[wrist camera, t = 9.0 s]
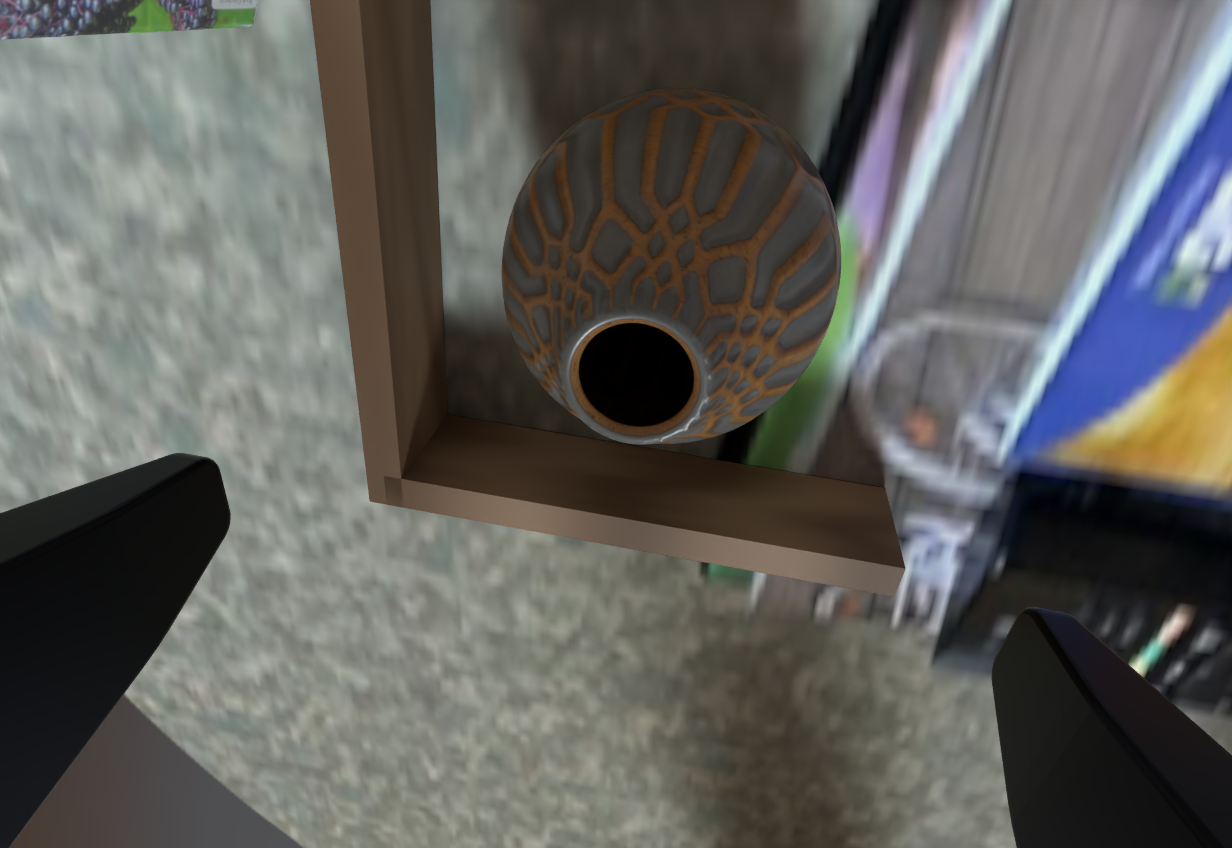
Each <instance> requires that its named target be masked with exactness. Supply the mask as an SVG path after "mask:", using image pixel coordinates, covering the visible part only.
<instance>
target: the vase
mask: <svg viewBox="0 0 1232 848" xmlns="http://www.w3.org/2000/svg"><path fill="white" fill-rule="evenodd" d="M840 274H841V245H840V237H839V231H838V225H837V220H836V216H835V212H834V208H833V205H832V202H831V199H830V196H829V194H828V192H827V189H826V187H825V185H824V183H823V181H822V178H821V177H820V175H819V173H818V171H817V169H816V167H815V166H814V164H813V163H812V161H811V160H810V158H809V157H808V155H807V154H806V152H805V151H804V150H803V149H802V147H801V146H800V145H799V144H798V143H797V142H796V141H795V139H794V138H793V137H792V136H791V135H790V134H789V133H788V132H787V131H786V130H784V129H783V128H782V127H781V126H780V125H779V124H778V123H777V122H775V121H774V120H773V119H771V118H770V117H769V116H767V115H766V114H764V113H763V112H761V111H759V110H758V109H756V108H754V107H752V106H751V105H749V104H747V103H745V102H742V101H740V100H738V99H735V98H733V97H730V96H727V95H723V94H720V93H716V92H712V91H707V90H701V89H693V88H665V89H657V90H650V91H645V92H641V93H636V94H632V95H629V96H626V97H623V98H620V99H618V100H615V101H613V102H611V103H608V104H606V105H604V106H602V107H601V108H599V109H597V110H595V111H593V112H591V113H590V114H588V115H587V116H585V117H583V118H582V119H580V120H579V121H578V122H576V123H575V124H574V125H572V126H571V127H570V128H568V129H567V130H566V131H565V132H564V133H563V134H562V135H561V136H560V137H559V138H558V139H557V140H556V141H555V142H554V143H553V144H552V145H551V146H550V147H549V148H548V149H547V150H546V151H545V152H544V154H543V155H542V156H541V157H540V159H539V160H538V161H537V163H536V164H535V166H534V167H533V169H532V170H531V172H530V173H529V175H528V177H527V179H526V180H525V182H524V184H523V186H522V188H521V190H520V192H519V194H518V197H517V199H516V201H515V204H514V206H513V209H512V212H511V215H510V219H509V223H508V227H507V231H506V235H505V241H504V247H503V258H502V289H503V298H504V305H505V311H506V315H507V319H508V323H509V326H510V329H511V332H512V335H513V338H514V340H515V343H516V345H517V348H518V350H519V352H520V354H521V356H522V358H523V360H524V361H525V363H526V365H527V366H528V368H529V369H530V371H531V372H532V374H533V375H534V377H535V378H536V379H537V380H538V382H539V383H540V384H541V385H542V387H543V388H544V389H545V390H546V391H547V392H548V393H549V394H550V395H551V396H552V397H553V398H554V399H555V400H556V401H557V402H558V403H559V404H560V405H561V406H563V407H564V408H565V409H566V410H568V411H569V412H570V413H572V414H573V415H574V416H576V417H577V418H579V419H581V420H582V421H583V422H584V423H585V424H586V425H587V426H589V427H590V428H591V429H593V430H594V431H596V432H598V433H599V434H601V435H603V436H605V437H607V438H610V439H613V440H616V441H619V442H623V443H628V444H639V445H645V444H677V443H687V442H693V441H699V440H703V439H707V438H711V437H714V436H718V435H721V434H724V433H726V432H729V431H731V430H734V429H736V428H738V427H740V426H742V425H744V424H746V423H747V422H749V421H751V420H753V419H754V418H755V417H757V416H758V415H760V414H761V413H763V412H764V411H766V410H767V409H768V408H770V407H771V406H772V405H773V404H775V403H776V402H777V401H778V400H779V399H780V398H781V397H782V396H783V395H784V394H785V393H786V392H787V391H788V390H789V389H790V388H791V387H792V386H793V385H794V384H795V382H796V381H797V380H798V379H799V377H800V376H801V375H802V374H803V372H804V371H805V369H806V368H807V366H808V365H809V364H810V362H811V360H812V359H813V357H814V355H815V354H816V352H817V350H818V348H819V347H820V345H821V343H822V340H823V338H824V336H825V334H826V331H827V329H828V327H829V324H830V321H831V318H832V315H833V312H834V309H835V305H836V300H837V295H838V290H839V284H840Z"/></svg>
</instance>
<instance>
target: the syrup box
mask: <svg viewBox="0 0 1232 848" xmlns="http://www.w3.org/2000/svg"><path fill="white" fill-rule="evenodd" d="M257 4H258V0H0V39H18V38H39V37H61V36H74V35H93V34H112V33H143V32H158V31H180V30H200V29H214V28H246V27H250V26H252V25H253V23H254V19H255V17H256V12H257Z"/></svg>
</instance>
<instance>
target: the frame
mask: <svg viewBox="0 0 1232 848" xmlns="http://www.w3.org/2000/svg"><path fill="white" fill-rule="evenodd" d="M310 5H311V13H312V22H313V30H314V38H315V47H316V55H317V63H318V72H319V80H320V89H321V97H322V105H323V114H324V122H325V130H326V139H327V147H328V156H329V164H330V172H331V181H332V189H333V197H334V206H335V214H336V223H337V231H338V239H339V248H340V256H341V264H342V273H343V281H344V290H345V298H346V306H347V315H348V323H349V331H350V340H351V348H352V356H353V365H354V373H355V382H356V390H357V398H358V407H359V415H360V423H361V432H362V440H363V449H364V457H365V465H366V474H367V482H368V490H369V499H370V501H371V502H376V503H382V504H387V505H393V506H398V507H404V508H409V509H415V510H420V511H426V512H431V513H437V514H442V515H448V516H453V517H459V518H464V519H470V520H475V521H481V522H486V523H492V524H497V525H503V526H508V527H514V528H519V529H525V530H530V531H536V532H541V533H546V534H552V535H557V536H563V537H568V538H574V539H579V540H585V541H590V542H596V543H601V544H607V545H612V546H618V547H623V548H629V549H634V550H640V551H645V552H651V553H656V554H662V555H667V556H673V557H678V558H684V559H689V560H695V561H700V562H706V563H711V564H717V565H722V566H728V567H733V568H739V569H744V570H750V571H755V572H761V573H766V574H772V575H777V576H783V577H788V578H794V579H799V580H805V581H810V582H816V583H821V584H827V585H832V586H838V587H843V588H849V589H854V590H860V591H865V592H871V593H876V594H882V595H887V596H893V597H894V595H895V593H896V591H897V588H898V586H899V583H900V581H901V578H902V576H903V574H904V571H905V565H904V561H903V557H902V553H901V549H900V545H899V541H898V537H897V533H896V529H895V525H894V521H893V517H892V513H891V509H890V506H889V502H888V498H887V494H886V490H885V488H882V487H876V486H870V485H864V484H858V483H852V482H846V481H840V480H834V479H828V478H822V477H816V476H810V475H804V474H798V473H792V472H786V471H780V470H774V469H768V468H763V467H757V466H751V465H745V464H739V463H733V462H727V461H721V460H715V459H709V458H703V457H697V456H691V455H685V454H679V453H673V452H667V451H661V450H655V449H649V448H644V447H638V446H632V445H626V444H620V443H614V442H608V441H602V440H596V439H590V438H584V437H578V436H572V435H566V434H560V433H554V432H548V431H542V430H536V429H531V428H525V427H519V426H513V425H507V424H501V423H495V422H489V421H483V420H477V419H471V418H465V417H459V416H453V415H448V409H447V385H446V362H445V339H444V315H443V292H442V268H441V245H440V222H439V198H438V175H437V151H436V128H435V105H434V81H433V58H432V34H431V11H430V0H310Z"/></svg>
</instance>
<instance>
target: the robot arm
mask: <svg viewBox="0 0 1232 848" xmlns="http://www.w3.org/2000/svg"><path fill="white" fill-rule="evenodd" d="M230 517H231V514H230V509H229V505H228V501H227V497H226V493H225V489H224V485H223V481H222V477H221V473H220V470H219V467H218V465H217V464H216V463H215V462H214V460H212V459H210V458H207V457H202V456H196V455H191V454H185V453H175V454H171V455H168V456H165V457H162V458H159V459H156V460H153V461H151V462H148V463H145V464H142V465H139V466H136V467H133V468H130V469H127V470H124V471H122V472H119V473H116V474H113V475H110V476H107V477H104V478H101V479H98V480H95V481H93V482H90V483H87V484H84V485H81V486H78V487H75V488H72V489H69V490H66V491H63V492H61V493H58V494H55V495H52V496H49V497H46V498H43V499H40V500H37V501H34V502H32V503H29V504H26V505H23V506H20V507H17V508H14V509H11V510H8V511H5V512H3V513H0V848H9V847H10V846H11V845H12V844H13V842H14V841H15V839H16V838H17V837H18V836H19V834H20V833H21V831H22V830H23V829H24V827H25V826H26V825H27V823H28V822H29V821H30V819H31V818H32V817H33V815H34V814H35V813H36V811H37V810H38V808H39V807H40V806H41V805H42V803H43V802H44V800H45V799H46V798H47V796H48V795H49V794H50V792H51V791H52V790H53V788H54V787H55V786H56V784H57V783H58V782H59V780H60V779H61V778H62V776H63V775H64V774H65V772H66V771H67V770H68V768H69V767H70V766H71V764H72V763H73V762H74V760H75V759H76V757H77V756H78V755H79V753H80V752H81V750H82V749H83V748H84V747H85V745H86V744H87V743H88V741H89V740H90V739H91V737H92V736H93V735H94V733H95V732H96V730H97V729H98V728H99V727H100V725H101V724H102V723H103V721H104V720H105V718H106V717H107V716H108V714H109V713H110V712H111V710H112V709H113V708H114V706H115V705H116V704H117V702H118V701H119V700H120V698H121V697H122V695H123V694H124V693H125V692H126V690H127V689H128V688H129V686H130V685H131V683H132V682H133V681H134V679H135V678H136V677H137V675H138V674H139V673H140V671H141V670H142V669H143V667H144V666H145V665H146V663H147V662H148V660H149V659H150V658H151V656H152V655H153V653H154V652H155V650H156V649H157V648H158V646H159V645H160V643H161V642H162V640H163V638H164V637H165V635H166V634H167V632H168V631H169V629H170V628H171V626H172V624H173V623H174V621H175V619H176V618H177V616H178V614H179V613H180V611H181V609H182V608H183V606H184V604H185V603H186V601H187V599H188V598H189V596H190V594H191V593H192V591H193V589H194V588H195V586H196V584H197V583H198V581H199V579H200V578H201V576H202V574H203V573H204V571H205V569H206V568H207V566H208V564H209V563H210V561H211V559H212V558H213V556H214V554H215V553H216V551H217V549H218V548H219V546H220V544H221V543H222V541H223V539H224V538H225V536H226V534H227V531H228V529H229V525H230ZM992 686H993V693H994V701H995V708H996V716H997V723H998V731H999V738H1000V746H1001V753H1002V761H1003V768H1004V776H1005V783H1006V791H1007V798H1008V805H1009V811H1010V817H1011V823H1012V828H1013V832H1014V837H1015V841H1016V846H1017V848H1232V755H1231V754H1230V753H1229V752H1227V751H1226V750H1225V749H1224V748H1223V747H1222V746H1221V745H1219V744H1218V743H1217V742H1216V741H1215V740H1214V739H1213V738H1211V737H1210V736H1209V735H1208V734H1207V733H1206V732H1205V731H1204V730H1202V729H1201V728H1200V727H1199V726H1198V725H1197V724H1196V723H1194V722H1193V721H1192V720H1191V719H1190V718H1189V717H1188V716H1186V715H1185V714H1184V713H1183V712H1182V711H1181V710H1180V709H1178V708H1177V707H1176V706H1175V705H1174V704H1173V703H1172V702H1170V701H1169V700H1168V699H1167V698H1166V697H1165V696H1164V695H1162V694H1161V693H1160V692H1159V691H1158V690H1157V689H1156V688H1155V687H1153V686H1152V685H1151V684H1150V683H1149V682H1148V681H1147V680H1145V679H1144V678H1143V677H1142V676H1141V675H1140V674H1139V673H1137V672H1136V671H1135V670H1134V669H1133V668H1132V667H1131V666H1129V665H1128V664H1127V663H1126V662H1125V661H1124V660H1123V659H1121V658H1120V657H1119V656H1118V655H1117V654H1116V653H1115V652H1113V651H1112V650H1111V649H1110V648H1109V647H1108V646H1107V645H1105V644H1104V643H1103V642H1102V641H1101V640H1100V639H1099V638H1098V637H1096V636H1095V635H1094V634H1093V633H1092V632H1091V631H1090V630H1088V629H1087V628H1086V627H1085V626H1084V625H1083V624H1082V623H1080V622H1079V621H1078V620H1077V619H1076V618H1074V617H1073V616H1071V615H1070V614H1067V613H1064V612H1059V611H1054V610H1048V609H1043V608H1037V607H1029V608H1026V609H1024V610H1023V611H1021V612H1020V614H1019V615H1018V617H1017V618H1016V620H1015V622H1014V624H1013V626H1012V628H1011V629H1010V631H1009V633H1008V635H1007V637H1006V638H1005V640H1004V642H1003V644H1002V646H1001V648H1000V649H999V651H998V653H997V655H996V657H995V659H994V663H993V667H992Z"/></svg>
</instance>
